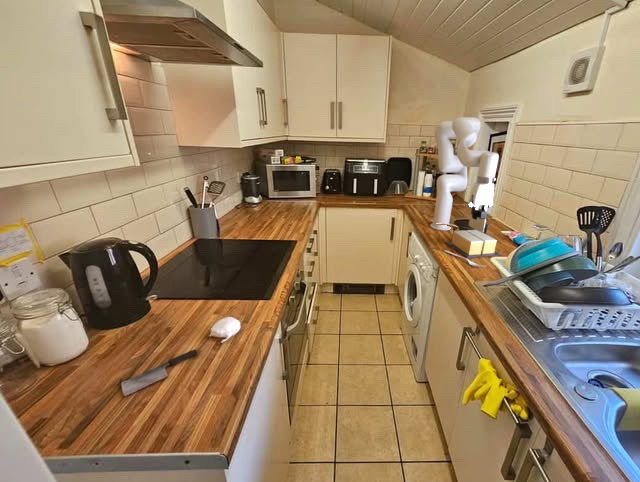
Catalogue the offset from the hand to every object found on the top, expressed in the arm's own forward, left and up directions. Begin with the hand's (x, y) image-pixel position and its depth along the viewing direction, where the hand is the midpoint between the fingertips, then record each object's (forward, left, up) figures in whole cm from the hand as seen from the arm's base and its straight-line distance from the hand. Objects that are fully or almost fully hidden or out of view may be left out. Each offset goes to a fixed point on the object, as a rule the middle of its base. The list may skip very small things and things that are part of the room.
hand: (477, 218), depth 146 cm
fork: (+11, -12, -16) cm, 23 cm away
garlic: (+45, -110, -16) cm, 120 cm away
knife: (0, 0, -6) cm, 6 cm away
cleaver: (+58, -122, -16) cm, 136 cm away
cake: (0, 0, -16) cm, 16 cm away
